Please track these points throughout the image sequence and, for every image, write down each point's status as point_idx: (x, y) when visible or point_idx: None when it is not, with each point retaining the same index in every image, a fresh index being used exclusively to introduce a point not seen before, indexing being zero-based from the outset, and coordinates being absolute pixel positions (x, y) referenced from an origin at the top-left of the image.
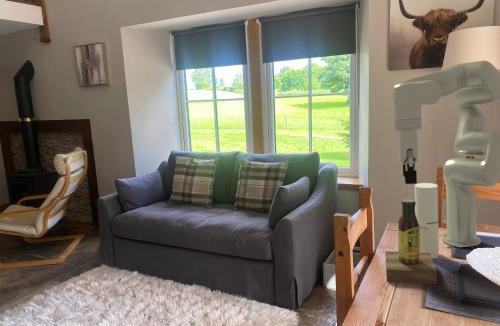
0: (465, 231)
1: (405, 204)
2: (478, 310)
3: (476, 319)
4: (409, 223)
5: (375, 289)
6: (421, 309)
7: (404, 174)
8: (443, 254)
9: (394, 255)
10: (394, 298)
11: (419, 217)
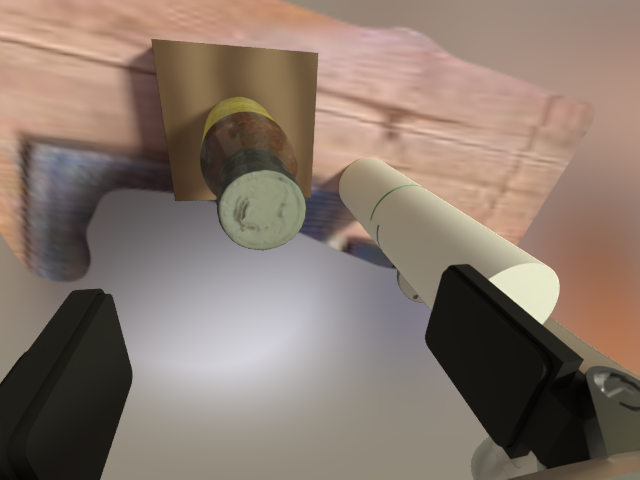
0: None
1: (222, 187)
2: (70, 257)
3: (20, 248)
4: (207, 171)
5: None
6: (6, 131)
7: (455, 286)
8: None
9: (281, 84)
10: (41, 56)
11: (401, 210)
